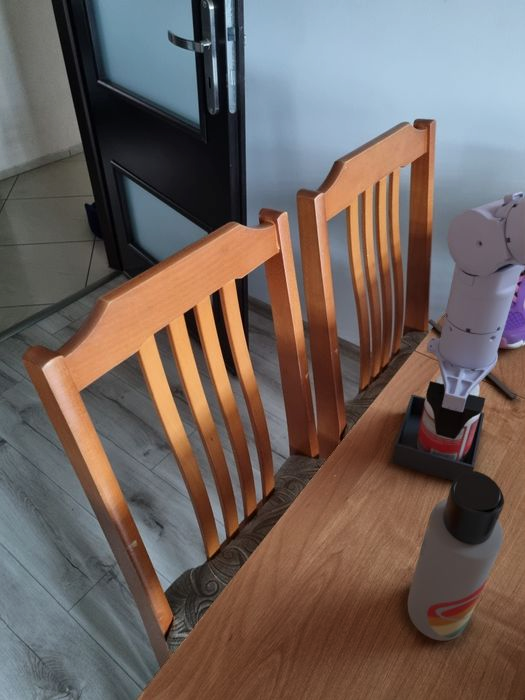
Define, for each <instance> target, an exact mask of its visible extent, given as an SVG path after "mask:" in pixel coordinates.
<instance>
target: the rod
mask: <svg viewBox="0 0 525 700" xmlns="http://www.w3.org/2000/svg"><path fill="white" fill-rule="evenodd" d="M428 324H429V325H431V326H432V327H433V329H435V330H436V331H437V332H438V333H439V334H440V335H441V333H442V328H443V327H441V326H440V325H439V324H438V323H436V321H434V320H433V319H432V318H430V319H429V320H428ZM485 377H487V378H488V379H489V380H490V381H491V382H493V384H494V385H496V386H497V387H498V388H499V389H500V390H501V391H502V392H503V393H504V394H505V395H507V397H508V398H510V399H511V400H512V401H513V400H516V398H517V395H516V394H514V392H513V391H512V390H510V389H509V388H508V387H507V386H506V385H505V384H504V383H503V382H501V380H499V379H498V378H497V377H496V376H494V374H493V373H492V372H491V371H490V372H489V373H488V374H487V375H486V376H485Z"/></svg>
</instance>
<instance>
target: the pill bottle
mask: <svg viewBox="0 0 525 700" xmlns="http://www.w3.org/2000/svg"><path fill="white" fill-rule="evenodd" d="M435 382H436V383H440V384H444V383H443V379H442V375H441V374H439V375H438V377H437V378H436V380H435ZM480 390H481V388H480V383H479V384H478V385H477V386H476V387H475V388H474V389H473V390H472V391H471V392H470V394H471V395H475V396H480V395H479V394H480ZM424 398H425V403H424V408H423V413H422V418H421V423H420V428H419V433H418V438H417V448H418V450H422V451H425V452H429V453H432V454H436V455H439V456H443V457H446V458H449V459H453V460H456V461H460V462H464V461H465V459H466V458H467V456H468V453H469V450H470V447H471V443H472V440H473V437H474V433H475V430H476V427H477V423H478V420H479V417H480V414H479V415H477V416H474V417H473V418H471V419H470V420H469V421H468V422H467V423H466V424H465V425H464V427H463V429H462V430H461V432H460V433H459V435H458V436H457V437H456V438H455V439H451V438H447V437H443V436H440V435H437V434H436V430H435V420H434V413H433V410H432V408H431V406H430V404H429V403H428V402H427V398H426V397H424Z"/></svg>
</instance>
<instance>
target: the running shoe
mask: <svg viewBox="0 0 525 700" xmlns="http://www.w3.org/2000/svg"><path fill="white" fill-rule="evenodd" d="M524 346H525V268H524V271H523V272H521V273H520V276H519V279H518V283H517V286H516V290H515V293H514V296H513V300H512V303H511V307H510V310H509V313H508V317H507V320H506V324H505V327H504V330H503V334H502V337H501V341H500V344H499V347H498V349H506V350H513V349H514V350H516V349H518V348H522V347H524Z"/></svg>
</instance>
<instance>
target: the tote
mask: <svg viewBox="0 0 525 700" xmlns="http://www.w3.org/2000/svg"><path fill="white" fill-rule="evenodd" d="M425 398H426V397H424V396H420V395H415V394H411V395H410V398H409V400H408V401H409V402H408V404H407V407H406V409H405V413H404V416H403V419H402V422H401V425H400V427H399V431H398V434H397V437H396V440H395V443H394V448H393V454H392V459H391V463H393V464H395V465H399V466H401V467H405V468H409V469H412V470H415V471H419V472H422V473H425V474H429V475H432V476H435V477H438V478H442V479H445V480H449V481H452V482H453V481H454V479H455V478H456V477H457V476H458V475H459V474H461V473H463V472H467V471H474V470H475V469H474V468H475V466H476V461H477V460H476V459H477V453H478V449H479V443H480V439H481V435H482V429H483V424H484V420H485V419H484V418H485V412H483V411H481V412H480V417H479V420H478V423H477V427H476V430H475V433H474V437H473V440H472V443H471V447H470V450H469V453H468V456H467V458H466V459H465V461H464V462H460V461H456V460H453V459H449V458H446V457H443V456H439V455H436V454H432V453H429V452H425V451H422V450H418V448H417V438H418V433H419V428H420V423H421V418H422V413H423V408H424V403H425Z"/></svg>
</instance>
